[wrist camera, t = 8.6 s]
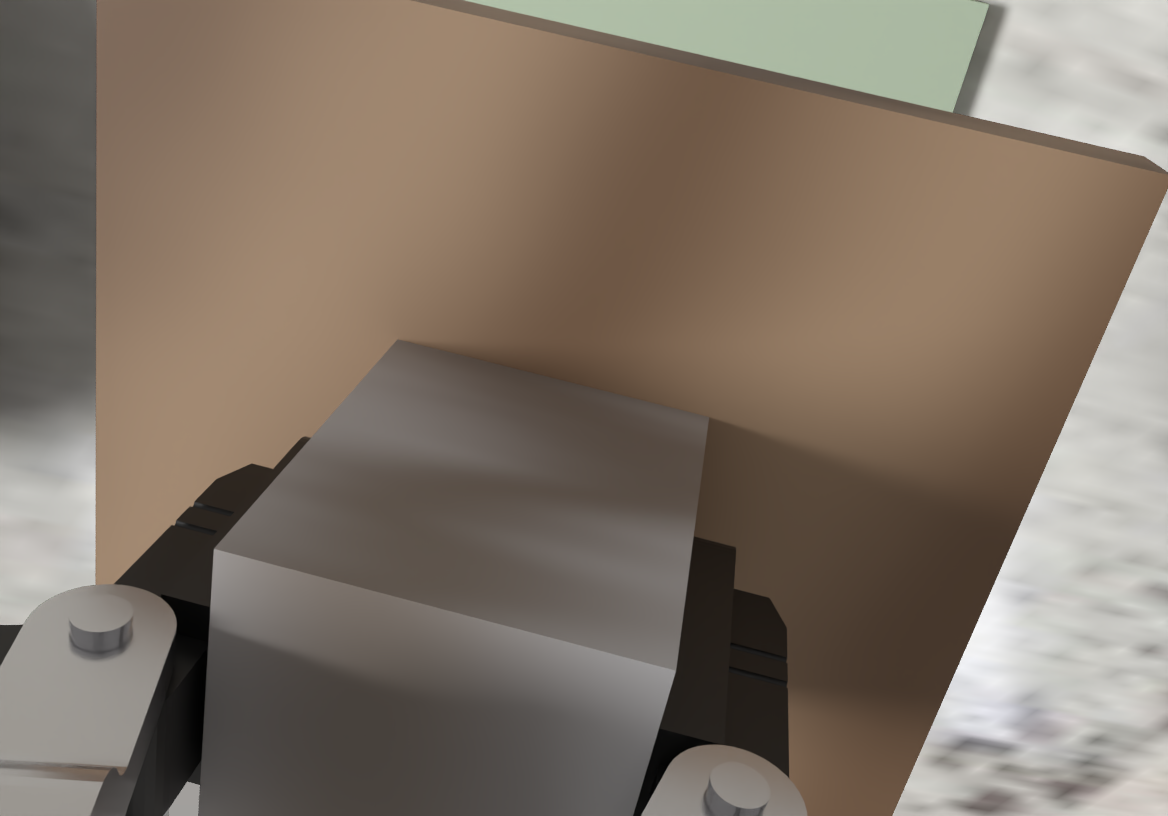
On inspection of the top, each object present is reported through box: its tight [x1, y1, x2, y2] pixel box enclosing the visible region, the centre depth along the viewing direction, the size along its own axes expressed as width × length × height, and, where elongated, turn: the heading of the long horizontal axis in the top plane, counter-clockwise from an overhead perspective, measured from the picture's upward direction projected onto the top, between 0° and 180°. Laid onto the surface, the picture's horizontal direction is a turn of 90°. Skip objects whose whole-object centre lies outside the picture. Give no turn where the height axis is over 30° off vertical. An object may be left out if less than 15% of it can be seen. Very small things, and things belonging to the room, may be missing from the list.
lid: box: [96, 0, 1168, 816], centre depth 13 cm, size 12×12×6 cm
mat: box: [464, 0, 989, 113], centre depth 35 cm, size 16×13×1 cm
